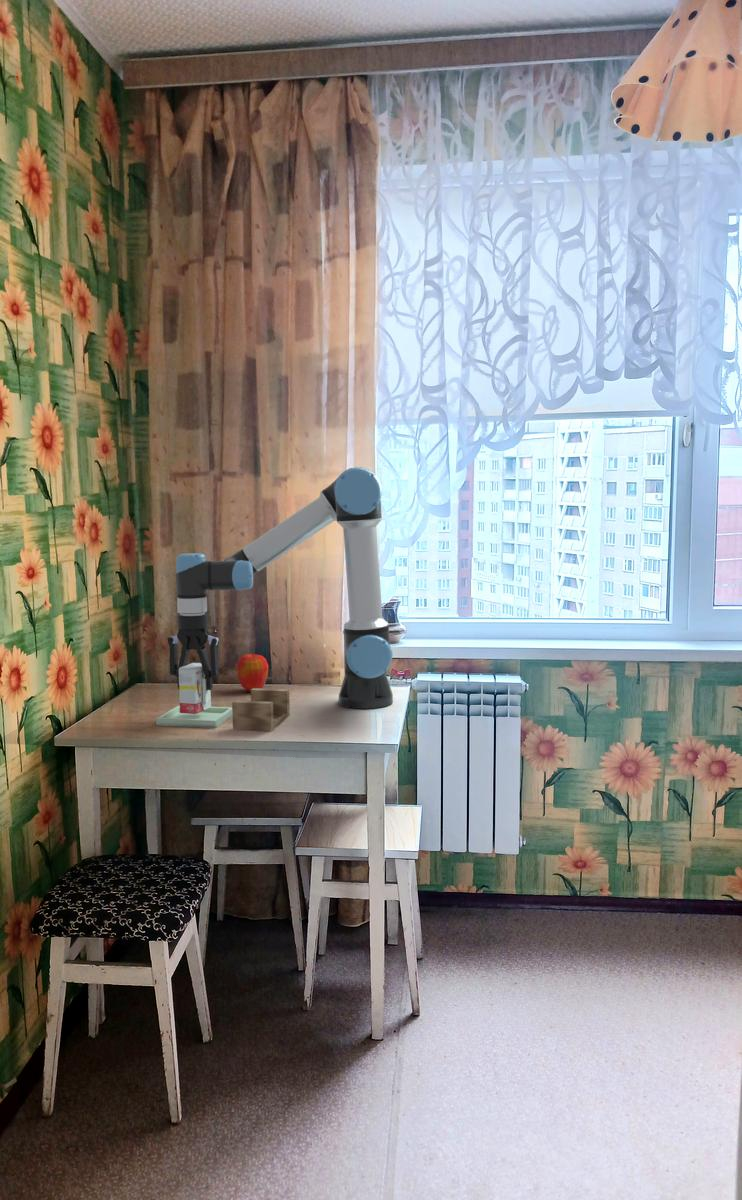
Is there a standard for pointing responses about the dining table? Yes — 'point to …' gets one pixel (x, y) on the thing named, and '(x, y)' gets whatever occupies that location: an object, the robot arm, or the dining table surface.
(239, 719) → the holder
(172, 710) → the tray
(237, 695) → the dining table surface
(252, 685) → the apple
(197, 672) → the ink box
